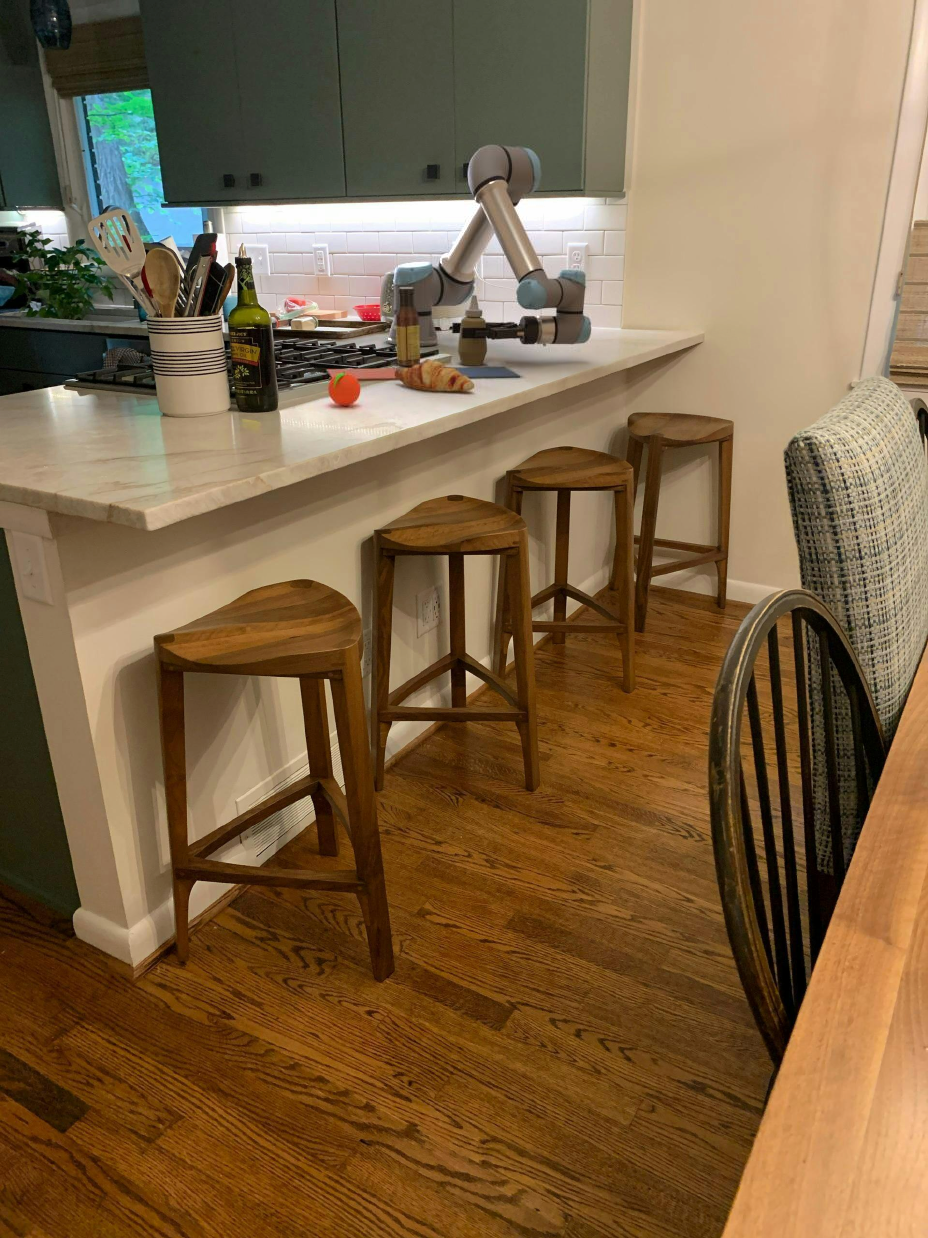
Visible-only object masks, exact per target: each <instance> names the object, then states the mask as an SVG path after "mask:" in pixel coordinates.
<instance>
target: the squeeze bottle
mask: <svg viewBox="0 0 928 1238" xmlns="http://www.w3.org/2000/svg"><path fill="white" fill-rule="evenodd" d="M486 322H487V321H486V319H485V318H484V317H483V309H480V308H479V304H478V297H477V295H475V294H472V296H471V297H470V303H469V307H468V308H466V309H464V317H462V319H461V321H460V323H461V327H460V333H459V337H458V343H457V354H458V356H459V360H460V364H461V365H465V366H469V367H478V366H482V365H483V363H484V361H485V360H486V359H485V358H486V356H487V352H488V342H487V337H486V338H468V339H462V328H486Z"/></svg>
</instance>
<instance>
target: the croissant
mask: <svg viewBox="0 0 928 1238" xmlns="http://www.w3.org/2000/svg"><path fill="white" fill-rule="evenodd" d="M395 377H396V378H397V379H398V380H397V381H399V382H401V383H402V384H403V385H405V386H406V387H408V388H414V389H416V390H420V391H421V390H422V391H423V390H425V391H429V392H458V391H459V392H469V391H471V390H473V389H474V388H475V383H474V382H473V381H472V380H471V378H468V377H467V376H466V375H462V374H460V372H459V371H458V370H457V369H456V367H451V366H445V364H444V363H442V362H440V361H438V360H435V359H429V358H428V359H427V358H426V359H425V360H423V361H422V362H421V363H420V364H419V365H418V364H416V365H414V366H411V367H410V368H408V367H405V368H403V369H401V370H397V371H395Z"/></svg>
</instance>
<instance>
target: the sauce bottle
mask: <svg viewBox="0 0 928 1238" xmlns="http://www.w3.org/2000/svg"><path fill="white" fill-rule="evenodd" d="M399 295H400V303H399V305H400V306H399V308H398V310H397V312H396V341H397V345H396V359H397V364H398V365H399V366H401V367H413V366H414V365H416V364H418V365H421V346H420V337H419V321H418V313H417V311H416V309H415V306H414V297H413V296H414V288H412V287H401V288H399Z"/></svg>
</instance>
